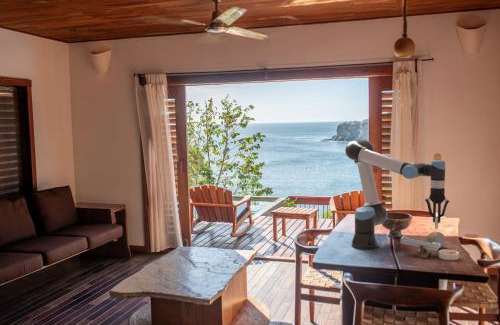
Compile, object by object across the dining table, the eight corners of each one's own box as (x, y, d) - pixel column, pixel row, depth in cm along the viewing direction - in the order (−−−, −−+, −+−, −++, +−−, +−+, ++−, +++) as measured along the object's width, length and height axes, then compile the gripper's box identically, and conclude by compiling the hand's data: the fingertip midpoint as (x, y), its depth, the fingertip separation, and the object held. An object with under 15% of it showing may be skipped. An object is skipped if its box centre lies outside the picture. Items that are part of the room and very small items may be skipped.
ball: (450, 250, 252) (456, 254, 251) (451, 248, 255) (456, 252, 254) (446, 254, 253) (452, 259, 252) (447, 253, 256) (452, 257, 255)
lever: (399, 243, 263) (400, 238, 262) (405, 237, 276) (405, 232, 276) (436, 251, 253) (437, 246, 253) (440, 245, 266) (441, 240, 266)
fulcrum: (415, 256, 258) (415, 245, 257) (419, 250, 268) (419, 240, 267) (426, 257, 255) (427, 246, 254) (430, 252, 265) (430, 241, 264)
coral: (439, 239, 267) (426, 229, 275) (434, 252, 272) (422, 242, 280) (450, 235, 271) (438, 226, 279) (445, 249, 276) (433, 239, 284)
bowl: (437, 258, 253) (437, 253, 253) (439, 253, 262) (440, 248, 261) (457, 261, 248) (457, 255, 247) (459, 256, 257) (459, 250, 256)
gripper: (424, 187, 261) (423, 228, 264) (449, 189, 255) (447, 230, 257) (426, 185, 268) (425, 225, 270) (450, 187, 261) (449, 228, 264)
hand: (436, 228), depth 264 cm, fingers closed
